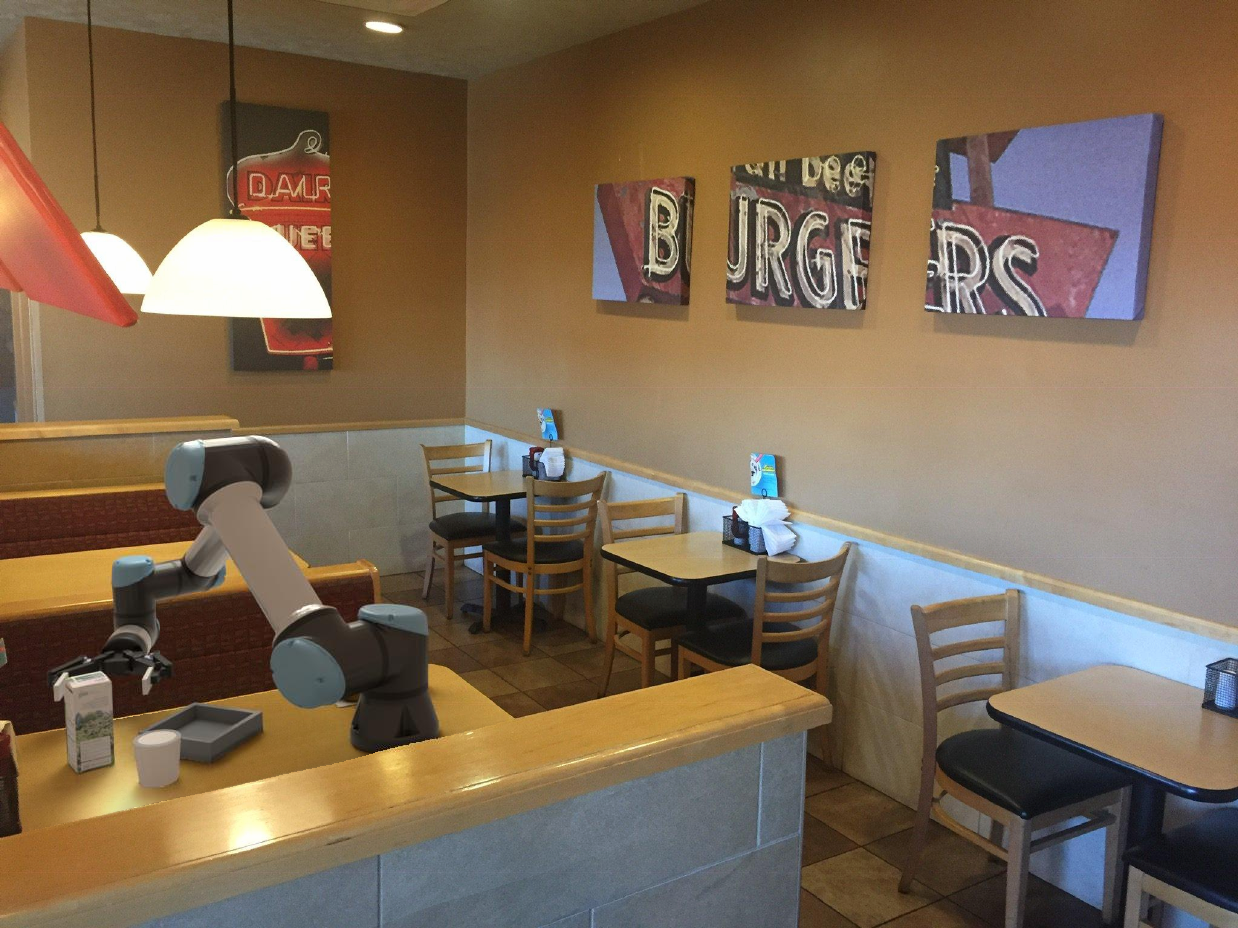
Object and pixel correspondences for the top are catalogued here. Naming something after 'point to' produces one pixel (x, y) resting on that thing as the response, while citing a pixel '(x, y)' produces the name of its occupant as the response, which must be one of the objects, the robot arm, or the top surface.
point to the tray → (210, 729)
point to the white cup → (157, 757)
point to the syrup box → (89, 721)
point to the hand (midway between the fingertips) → (101, 690)
